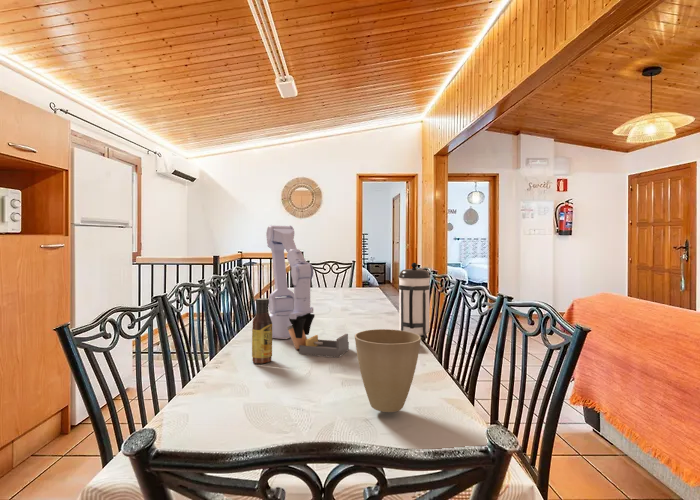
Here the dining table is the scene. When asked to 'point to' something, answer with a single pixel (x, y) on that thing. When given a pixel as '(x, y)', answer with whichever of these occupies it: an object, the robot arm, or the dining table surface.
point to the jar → (297, 341)
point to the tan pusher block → (313, 341)
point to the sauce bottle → (262, 333)
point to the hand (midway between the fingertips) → (302, 336)
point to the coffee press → (414, 301)
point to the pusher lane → (327, 347)
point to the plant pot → (387, 366)
